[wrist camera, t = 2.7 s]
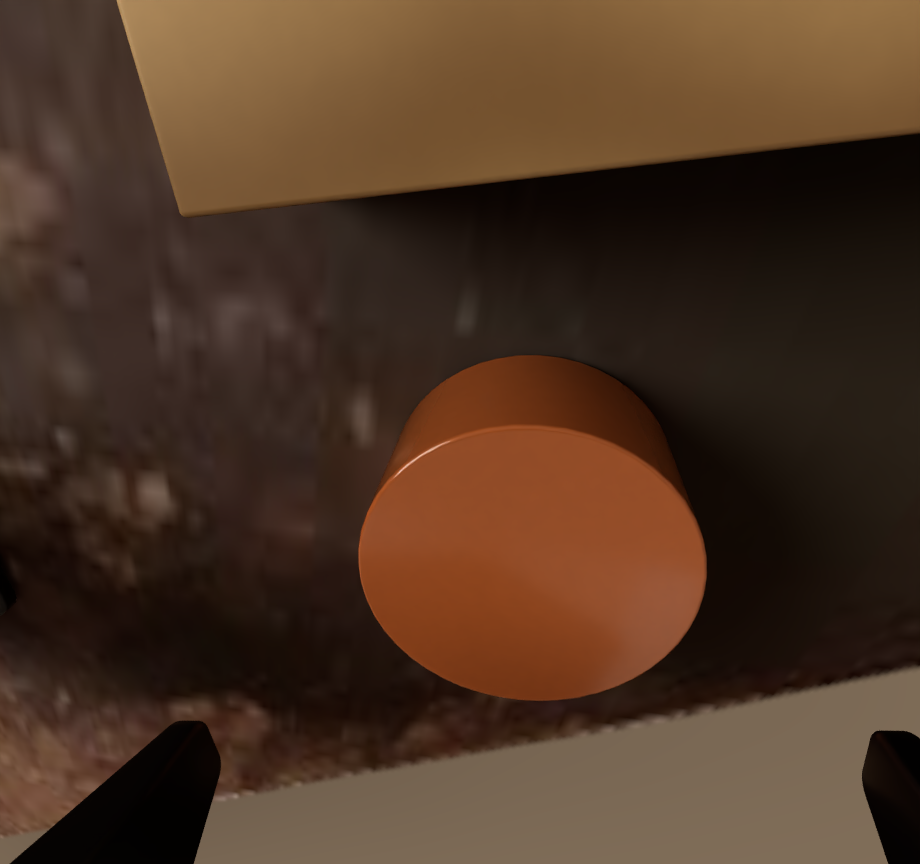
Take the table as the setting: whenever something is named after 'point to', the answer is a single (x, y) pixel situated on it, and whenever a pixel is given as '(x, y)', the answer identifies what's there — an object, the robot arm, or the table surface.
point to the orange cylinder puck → (533, 533)
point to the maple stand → (502, 88)
